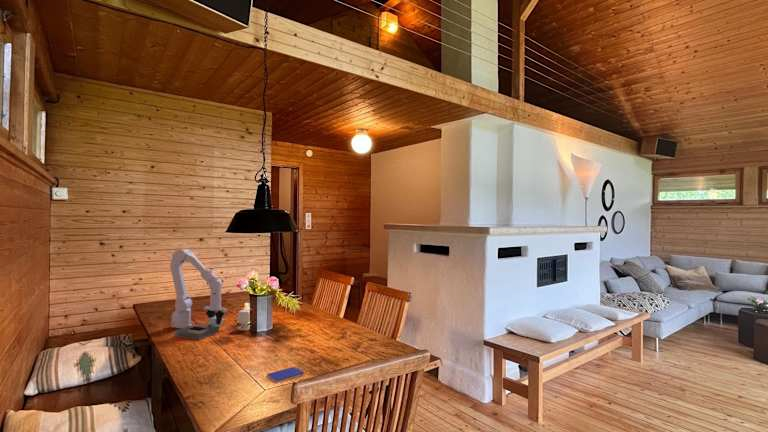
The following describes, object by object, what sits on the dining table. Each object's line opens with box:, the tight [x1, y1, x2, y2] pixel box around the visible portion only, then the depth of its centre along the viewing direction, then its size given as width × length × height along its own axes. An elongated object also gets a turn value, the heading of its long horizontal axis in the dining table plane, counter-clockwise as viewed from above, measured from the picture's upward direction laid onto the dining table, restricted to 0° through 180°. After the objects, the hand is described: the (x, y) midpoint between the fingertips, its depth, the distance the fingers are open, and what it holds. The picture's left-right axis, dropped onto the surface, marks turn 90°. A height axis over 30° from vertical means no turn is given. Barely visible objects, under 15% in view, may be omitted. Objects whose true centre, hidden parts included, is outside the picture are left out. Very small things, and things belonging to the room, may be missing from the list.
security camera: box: [236, 308, 251, 331], centre depth 223 cm, size 6×7×10 cm
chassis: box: [174, 323, 220, 341], centre depth 210 cm, size 16×14×3 cm
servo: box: [204, 315, 226, 328], centre depth 226 cm, size 11×4×6 cm, turn 162°
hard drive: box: [266, 366, 305, 383], centre depth 159 cm, size 2×8×12 cm
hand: (215, 323), depth 226 cm, fingers closed on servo, 4 cm apart
